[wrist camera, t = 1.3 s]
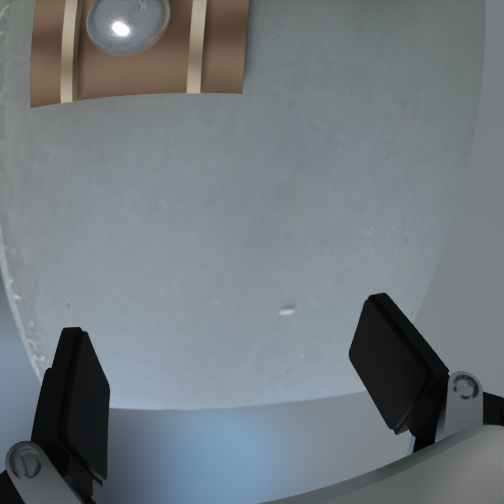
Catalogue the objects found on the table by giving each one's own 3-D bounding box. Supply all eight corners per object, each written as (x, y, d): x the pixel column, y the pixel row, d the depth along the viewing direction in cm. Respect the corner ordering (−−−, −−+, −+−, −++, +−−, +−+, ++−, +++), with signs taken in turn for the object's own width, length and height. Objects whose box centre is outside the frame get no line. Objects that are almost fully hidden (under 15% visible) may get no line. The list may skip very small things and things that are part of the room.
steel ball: (100, -4, 17) (81, -24, 12) (174, -10, 18) (174, -34, 13) (95, 62, 20) (72, 59, 15) (169, 57, 21) (166, 50, 16)
